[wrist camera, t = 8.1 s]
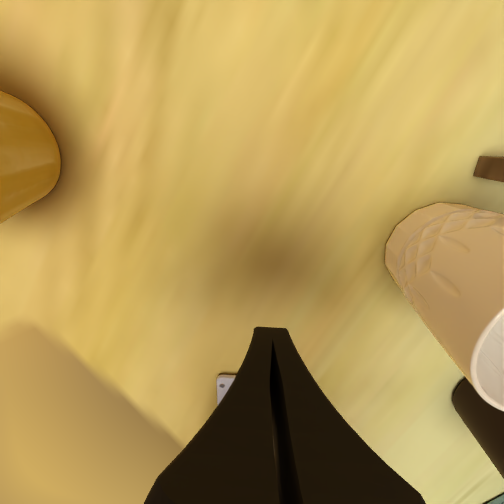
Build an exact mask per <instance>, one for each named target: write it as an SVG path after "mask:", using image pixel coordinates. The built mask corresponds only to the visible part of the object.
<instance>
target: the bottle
mask: <svg viewBox="0 0 504 504" xmlns="http://www.w3.org/2000/svg"><path fill="white" fill-rule="evenodd" d="M453 403H454V407H455V409H456V411H457V413H458V414H459V416H460V417H461V418H462V420H463V421H464V423H465V424H466V425H467V427H468V428H469V430H470V431H471V433H472V434H473V435H474V437H475V438H476V440H477V441H478V443H479V444H480V445H481V447H482V448H483V450H484V451H485V453H486V454H487V455H488V457H489V458H490V460H491V461H492V463H493V464H494V465H495V467H496V468H497V470H498V471H499V473H500V474H501V475H502V477H503V478H504V411H501V410H499V409H497V408H495V407H493V406H492V405H490V404H489V403H487V402H486V401H485V400H484V399H483V398H482V397H481V396H480V395H479V394H478V393H477V391H476V390H475V389H474V387H473V386H472V385H471V383H470V382H469V381H468V379H467V378H466V379H465V380H464V381H462V382H461V383H460V384H459V386H458V387H457V389H456V390H455V392H454V397H453Z"/></svg>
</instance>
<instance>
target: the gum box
mask: <svg viewBox="0 0 504 504" xmlns="http://www.w3.org/2000/svg"><path fill="white" fill-rule="evenodd" d="M487 504H504V494H503V495H501V496H499V497H498V498H496V499H494V500H492V501H490V502H489V503H487Z"/></svg>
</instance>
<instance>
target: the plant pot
mask: <svg viewBox="0 0 504 504" xmlns="http://www.w3.org/2000/svg"><path fill="white" fill-rule="evenodd" d="M60 169H61V159H60V152H59V148H58V144H57V142H56V140H55V137H54V135H53V134H52V132H51V130H50V128H49V127H48V125H47V124H46V123H45V122H44V120H43V119H42V118H41V117H40V116H39V115H38V113H36V112H35V111H34V110H33V109H32V108H31V107H30V106H28V105H27V104H26V103H24V102H23V101H21V100H19V99H18V98H16V97H14V96H12V95H10V94H7V93H5V92H2V91H0V223H2V222H3V221H5V220H7V219H8V218H10V217H12V216H13V215H15V214H16V213H18V212H20V211H21V210H23V209H24V208H26V207H28V206H29V205H31V204H32V203H34V202H36V201H37V200H39V199H41V198H42V197H44V196H46V195H47V194H48V193H49V192H50V191H51V190H52V189H53V188H54V186H55V185H56V183H57V181H58V178H59V175H60Z"/></svg>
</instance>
